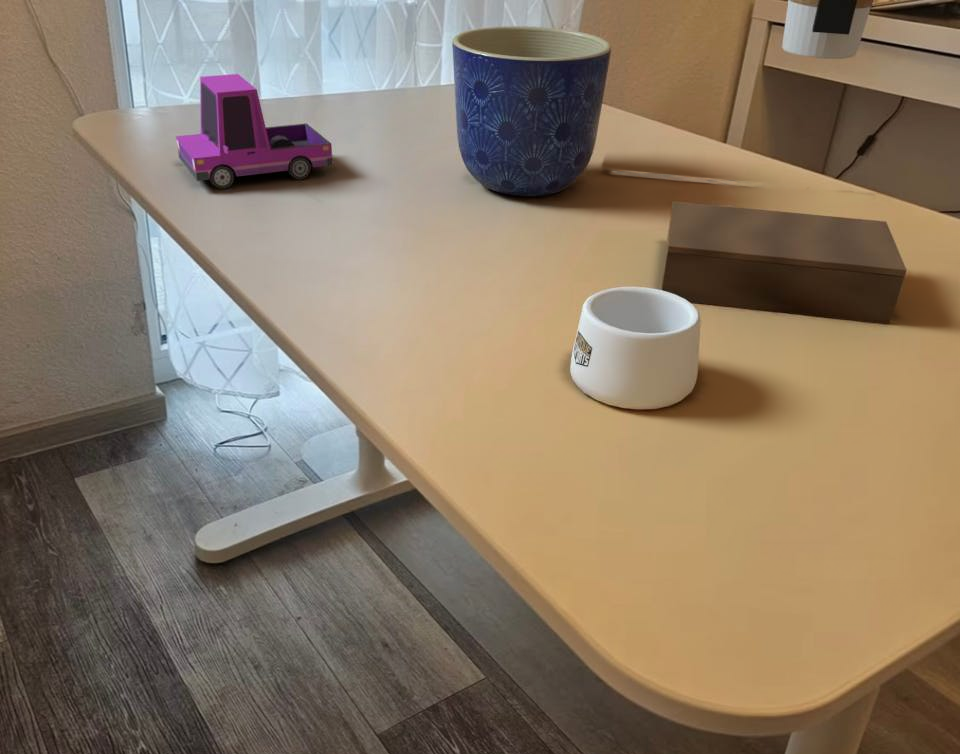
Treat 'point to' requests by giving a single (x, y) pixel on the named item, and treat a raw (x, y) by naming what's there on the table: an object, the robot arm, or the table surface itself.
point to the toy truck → (246, 137)
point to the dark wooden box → (783, 262)
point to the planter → (528, 105)
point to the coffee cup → (821, 44)
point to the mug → (636, 348)
